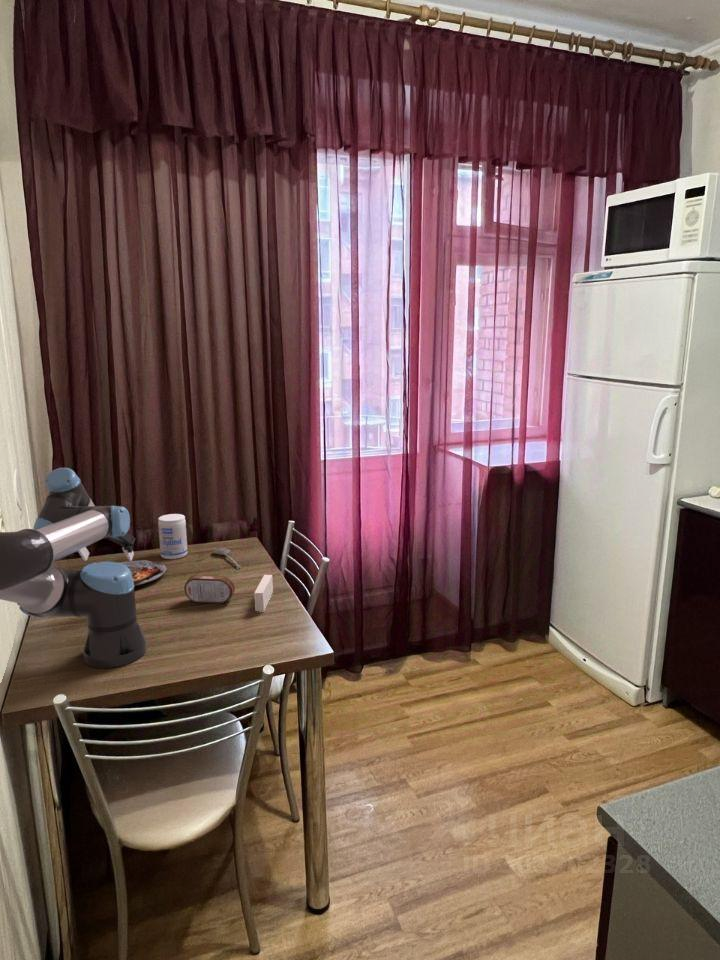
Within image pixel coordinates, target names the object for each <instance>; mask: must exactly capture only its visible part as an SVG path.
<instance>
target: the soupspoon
mask: <svg viewBox="0 0 720 960" xmlns="http://www.w3.org/2000/svg"><path fill="white" fill-rule="evenodd" d="M230 552H231V549H228V548H225V547H221V548H217V549H214V550H213V551H212V552H211V554H216V555H221V556H222V555H223V556H225V557H227V558H228V559H229V560H230V561H231V562H232V563H234V565H235V567H236V570H240V569H239V568H241V569H242V566H241V565H239V563H238V562H237V561H235V560H234V559H233V558H232V557H231V556H230V555H229V554H230Z"/></svg>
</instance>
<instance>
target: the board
mask: <svg viewBox="0 0 720 960" xmlns="http://www.w3.org/2000/svg"><path fill="white" fill-rule="evenodd" d="M273 580H274V579H273V574H263V576H262V578H261V580H260V582H259V584H258V586H257V588H256V589H255V591H254V594H253V595H254V608H255V609H254V610H255V611H257V612H256V613H264V612H265V611H266V609H267V607H268V605H269V603H270V601H269V600H271V599H270V598H272V596H273V594H274V584H273V582H274V581H273ZM272 593H273V594H272ZM271 595H272V596H271ZM268 602H269V603H268ZM267 604H268V605H267ZM266 606H267V607H266ZM265 608H266V609H265ZM264 610H265V611H264ZM258 611H259V612H258ZM263 611H264V612H263Z"/></svg>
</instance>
